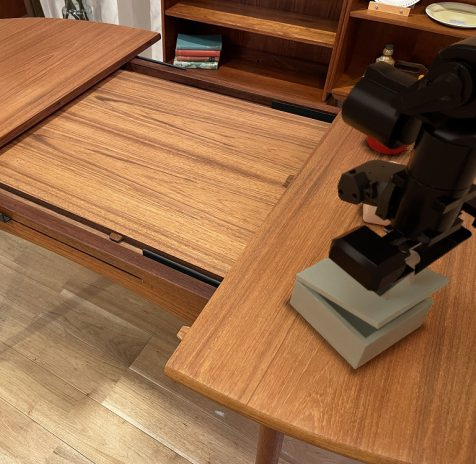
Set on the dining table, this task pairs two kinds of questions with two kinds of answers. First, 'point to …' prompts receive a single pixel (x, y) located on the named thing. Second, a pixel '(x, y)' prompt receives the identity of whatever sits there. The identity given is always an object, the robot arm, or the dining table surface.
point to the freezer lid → (367, 302)
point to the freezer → (354, 325)
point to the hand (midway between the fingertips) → (393, 283)
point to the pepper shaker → (373, 213)
